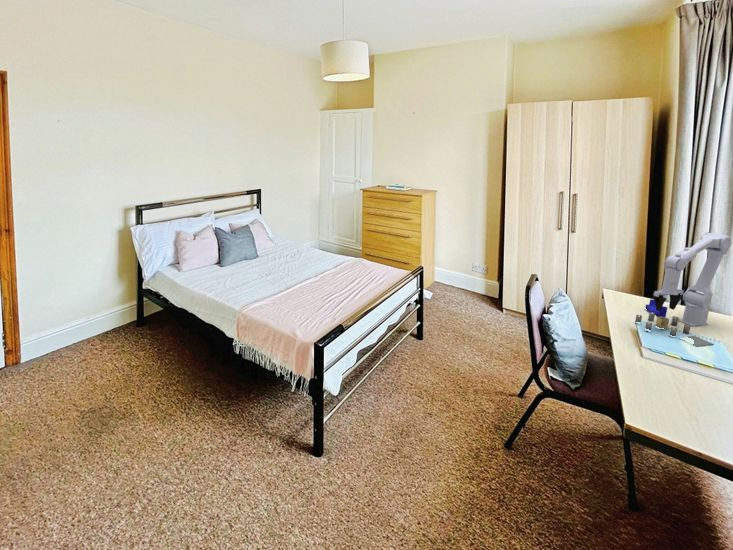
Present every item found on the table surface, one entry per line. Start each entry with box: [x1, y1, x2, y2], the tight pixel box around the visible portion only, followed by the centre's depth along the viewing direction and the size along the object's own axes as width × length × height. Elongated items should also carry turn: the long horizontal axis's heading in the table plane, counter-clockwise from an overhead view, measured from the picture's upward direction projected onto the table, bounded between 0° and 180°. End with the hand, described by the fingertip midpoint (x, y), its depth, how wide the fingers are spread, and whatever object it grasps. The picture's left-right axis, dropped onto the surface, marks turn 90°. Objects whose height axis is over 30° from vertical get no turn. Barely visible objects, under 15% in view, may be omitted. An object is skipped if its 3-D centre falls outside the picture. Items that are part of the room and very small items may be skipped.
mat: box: [686, 335, 714, 347], centre depth 188 cm, size 9×9×1 cm
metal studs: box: [634, 312, 692, 337], centre depth 201 cm, size 21×20×4 cm
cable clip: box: [644, 298, 668, 318], centre depth 218 cm, size 12×4×6 cm, turn 169°
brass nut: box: [654, 316, 670, 330], centre depth 201 cm, size 4×5×5 cm
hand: (665, 309), depth 199 cm, fingers open, 7 cm apart
